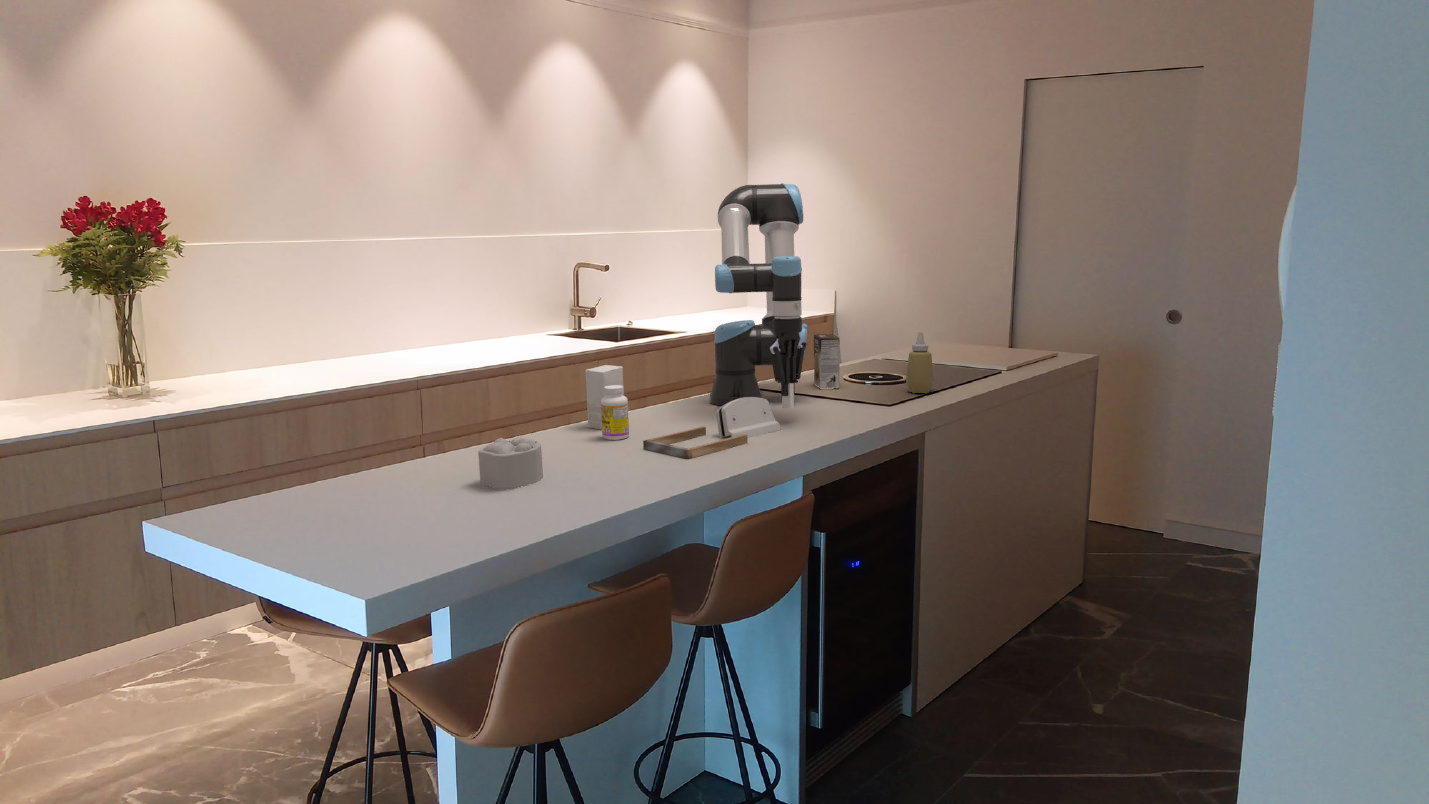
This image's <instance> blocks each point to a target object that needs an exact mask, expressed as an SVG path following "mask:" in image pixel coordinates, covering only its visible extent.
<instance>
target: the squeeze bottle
mask: <svg viewBox="0 0 1429 804" xmlns="http://www.w3.org/2000/svg"><path fill="white" fill-rule="evenodd" d="M915 342H916V343H915V344H912V345H911V347H912V348H911V350H912V351H910V352H909V353H908V358H907V359H908V360H907V366H906V367H907V368H906V369H907V370H906V377H905V382H906V385H907V389H908V391H909V393H911V392H912V394H915V393H925V394H929V393H930V392H931V389H932V386H933V384H934V381H935V380H934V379H935V378H934V370H933V369H934V368H933V367H934V366H933V358H932V353H931V352H930V351H929V344H927V343H926V344H925V339H924V333H923V332H918V334H917V337H916V341H915Z"/></svg>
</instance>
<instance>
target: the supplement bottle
mask: <svg viewBox="0 0 1429 804" xmlns="http://www.w3.org/2000/svg"><path fill="white" fill-rule="evenodd" d="M623 387H624V385H623V386H621V385H610V386H605V387H604V392H605V397H603V398H602V400H601V415H602V430H601V433H602V435H601V436H602V438H603V439H605V440H608V441H620V440H625V439H627V438H629V436H630V422H629V421H630V420H629V419H630V418H629V400H628V397H627V396H625V395H624V396H623V391H624V390H623ZM624 392H625V391H624Z"/></svg>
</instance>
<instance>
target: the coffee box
mask: <svg viewBox="0 0 1429 804" xmlns="http://www.w3.org/2000/svg"><path fill="white" fill-rule="evenodd" d="M840 340H841V339H840V337H839V336H838V335H837V336H836V335H835V334H834V333H831V334H827V333H825V334H824V333H823V334H822V333H819V334H817V333H816V334H813V370H814V372H813V377H814V378H813V379H814V383H815V384H816V385H817V386H819V387H820V388H827V387H828V388H832V387H839V388H840V369H841V367H840V357H841V356H840V355H841V353H840V352H841V351H840V350H841V349H840V348H841V346H840V342H841V341H840ZM817 386H816V387H817Z"/></svg>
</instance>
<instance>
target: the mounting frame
mask: <svg viewBox="0 0 1429 804" xmlns="http://www.w3.org/2000/svg"><path fill="white" fill-rule="evenodd" d="M706 435H707V428H706V426H698V427H693V428H691V429H686V430H682V431H678V432H674V433H669V434H665V435H662V436H657V437H653V438H648V439H643V440H642V444H643V450H646V451H652V452H656V453H659V454H664V455H669V456H672V457H678V458H682V459H686V460H691V459H694V458H698V457H701V456H704V455H708V454H712V453H716V452H720V451H723V450H728V449H730V448H734V447H739V446H742V445H746V444H748V443H749V442H748V437H747V435H745V434H743V435H739V436H735V437H731V436H730V437H728V438H727V437H726V438H724V439H720V440H717V441H716V440H715V441H712V442H709V443H706V444H701V445H697V446H693V447H690V448H689V447H688V448H687V447H682V446H678V445H673V444H675V443H679V442H682V441H683V442H684V441H687V440H691V439H696V438H699V437H703V436H706ZM745 443H746V444H745Z"/></svg>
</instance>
